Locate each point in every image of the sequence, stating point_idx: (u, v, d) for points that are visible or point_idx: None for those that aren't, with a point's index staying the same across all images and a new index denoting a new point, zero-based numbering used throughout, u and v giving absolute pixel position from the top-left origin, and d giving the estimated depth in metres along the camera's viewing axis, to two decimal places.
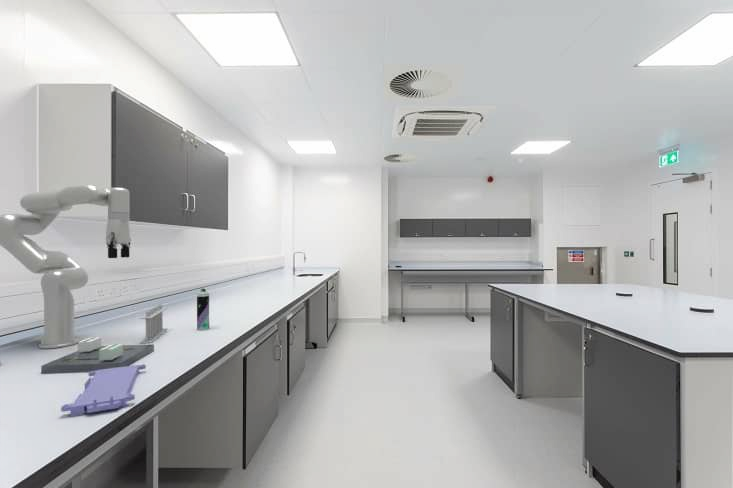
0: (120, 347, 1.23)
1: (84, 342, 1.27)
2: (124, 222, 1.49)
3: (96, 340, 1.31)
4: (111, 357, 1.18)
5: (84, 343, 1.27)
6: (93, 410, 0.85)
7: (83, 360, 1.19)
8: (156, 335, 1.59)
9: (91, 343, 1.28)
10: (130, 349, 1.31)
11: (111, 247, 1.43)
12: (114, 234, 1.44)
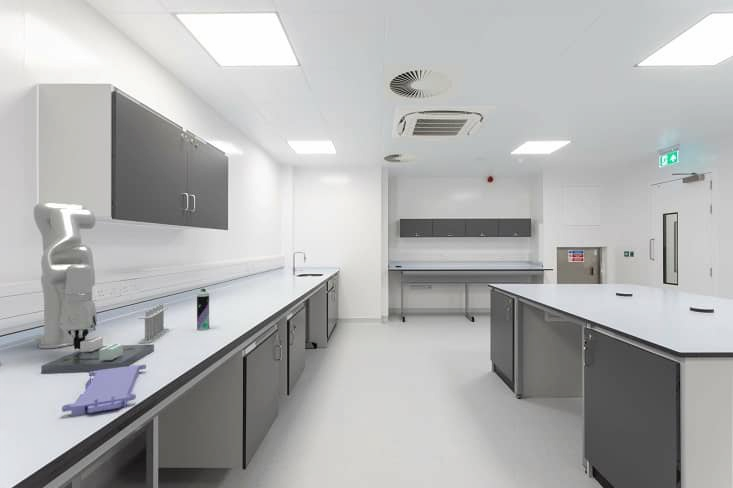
0: (120, 347, 1.23)
1: (86, 342, 1.28)
2: None
3: (98, 340, 1.31)
4: (111, 357, 1.18)
5: (86, 343, 1.27)
6: (94, 410, 0.85)
7: (83, 360, 1.19)
8: (156, 335, 1.59)
9: (93, 343, 1.28)
10: (130, 349, 1.31)
11: None
12: (95, 317, 1.31)
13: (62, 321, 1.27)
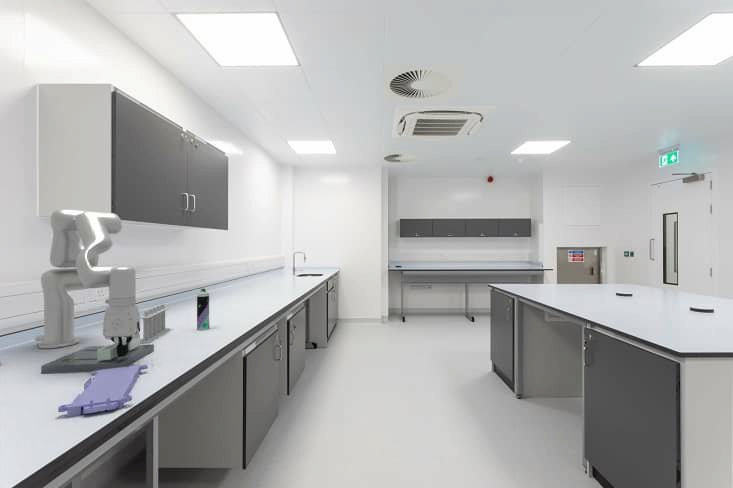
0: None
1: None
2: None
3: (136, 339, 1.33)
4: (109, 357, 1.18)
5: None
6: (89, 411, 0.85)
7: (83, 360, 1.19)
8: (156, 335, 1.59)
9: (132, 341, 1.30)
10: None
11: None
12: (139, 323, 1.23)
13: (105, 327, 1.18)
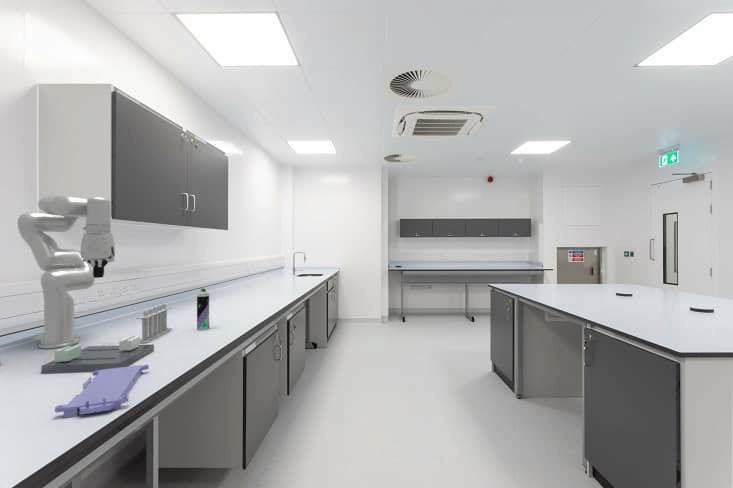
0: (78, 348, 1.21)
1: (125, 341, 1.29)
2: None
3: (136, 339, 1.33)
4: (67, 358, 1.17)
5: (125, 341, 1.29)
6: (85, 412, 0.84)
7: (83, 360, 1.19)
8: (156, 335, 1.59)
9: (132, 341, 1.30)
10: None
11: (103, 267, 1.36)
12: (113, 248, 1.37)
13: (82, 250, 1.32)
